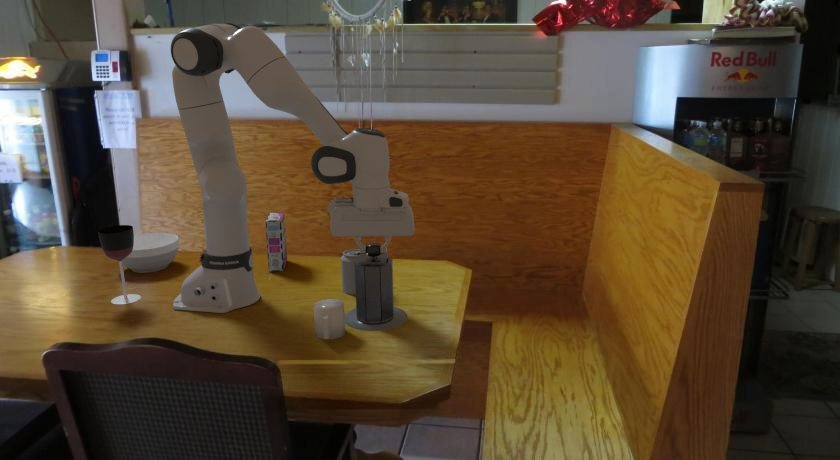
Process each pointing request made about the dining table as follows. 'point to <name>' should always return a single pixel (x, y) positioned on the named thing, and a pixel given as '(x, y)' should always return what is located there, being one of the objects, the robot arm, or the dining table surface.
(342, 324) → the white rounded cylinder
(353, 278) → the can
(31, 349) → the dining table surface
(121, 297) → the wineglass
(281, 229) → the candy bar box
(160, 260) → the bowl
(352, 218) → the robot arm
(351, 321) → the coaster
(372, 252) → the plunger
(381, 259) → the carafe
